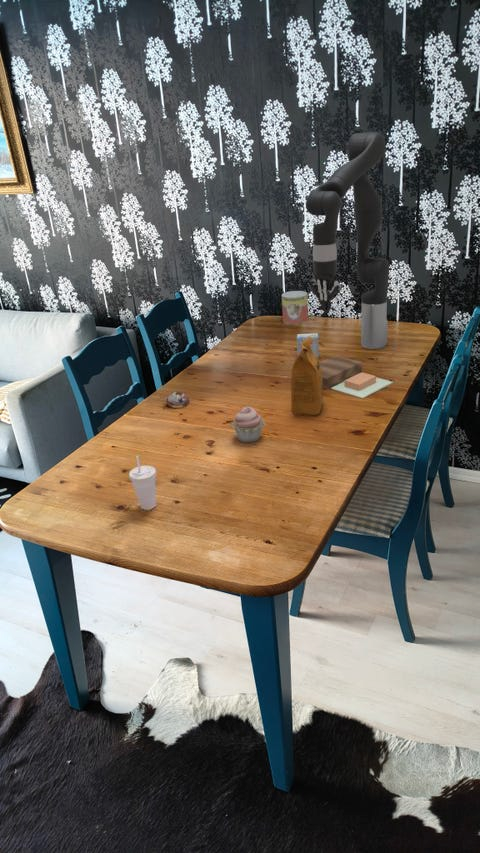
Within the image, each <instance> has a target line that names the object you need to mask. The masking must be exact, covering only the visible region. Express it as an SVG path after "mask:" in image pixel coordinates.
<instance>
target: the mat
mask: <svg viewBox="0 0 480 853" xmlns="http://www.w3.org/2000/svg"><path fill="white" fill-rule="evenodd" d="M393 382H394V381H392V380H391V381H390V380H387V379H384V378H379V377H377V376H376V383H374V384H372V385H370V386H368V387H366V388H364V389H362V390H360V391H357V390H354V389H351V388H347V387H345V386H344V382H342V383H340V384H338V385H336V386H334V387H332V388H330V390H333V391H336V392H339V393H342V394H346V395H349V396H352V397H355V398H358V399H361V400H362V399H366V398H367V397H369V396H371V395H373V394H374V393H377V392H379V391H380V390H382V389H384V388H387V387H388V386H391V385H392V384H393Z"/></svg>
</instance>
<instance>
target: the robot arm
mask: <svg viewBox="0 0 480 853" xmlns="http://www.w3.org/2000/svg"><path fill="white" fill-rule="evenodd" d="M385 139H386V138H385V137H384V135H383V134H382V133H381V132H377V131H376V132H374V131H373V132H371V131H367V132H357V133H353V134H352V135H351V136H350V138H349V140H348V145H347V148H348V149H347V150H348V151H347V152H348V153H347V154H348V162H345V163H344V164H342V165H341V166H339V167H338V168H336V169H335V171H334V172H333V173H332V174H331V175H330V176H329V178H327V180H326V181H325V182H323V183H321V184H320V185H318V186H317V187H316V188H314V189H313V190H312V191H310V192H309V194H308V195H307V198H306V201H305V207H306V211H307V212H308V213H309V214H310V216H311V215H312V216H316V217H317V216H319V217H320V216H323V217H325V218H324V221H323V222H321V223H317V224H315V225H314V226H313V228H312V239H313V240H312V241H313V243H312V244H313V245H312V247H313V248H312V263H313V264H312V266H313V274H314V276H313V279H312V280H310V281H308V284H309V287H310V288H311V290H312V291H313V293H314V295H315V297H316V298H319V299H320V301H321V309H322V311H323V312H326V313H327V312H329V311H331V309H332V300H333V299H336V298H337V296H338V295H339V293H340V292H341V291H342V289H343V288H344V286H343V283H339V282H338V278H337V272H338V253H337V252H338V251H337V243H336V242H337V238H336V236H337V235H336V234H337V233H336V232H337V231H336V229H337V226H338V225H337V224H338V220H339V219H338V218H339V214H340V212H341V211H340V210H341V207H342V201H341V200H342V198H343V197H345V196H346V194H347V193H348V192H349V190H350V189H351V187H352V191H353V203H354V204H353V206H354V207H353V208H354V220H355V232H356V277H357V279H358V281H359V282H360V283H361V284H363V283H364V284H373V285H374V286H375V287H374V288H373V289H371V290H369V291H366V292H364V293H362V294H361V307H360V308H361V311H360V313H361V326H360V327H361V333H360V334H361V337H360V338H361V344H360V346H361V347H362V348H364V349H368V350H379V349H383V348H385V347H386V345H387V344H388V321H389V320H388V319H387V312H388V311H387V308H388V307H387V304H388V292H389V278H390V263H389V260H388V259H386V258H384V257H370V248H371V244H372V241H373V239H374V237H375V236H376V234H377V232H378V231H379V229H380V227H381V224H382V221H383V207H382V200H381V197H380V196H379V194H378V192H377V190H376V189H375V187H374V186H373V184H372V183H371V181H370V179H369V176H368V174H367V172H368V171H369V170H370V169H372V168H373V167H375V165H377V164H378V163H379V162H380V161H381V160H382V158H383V157H384V155H385V151H386V140H385Z"/></svg>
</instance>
